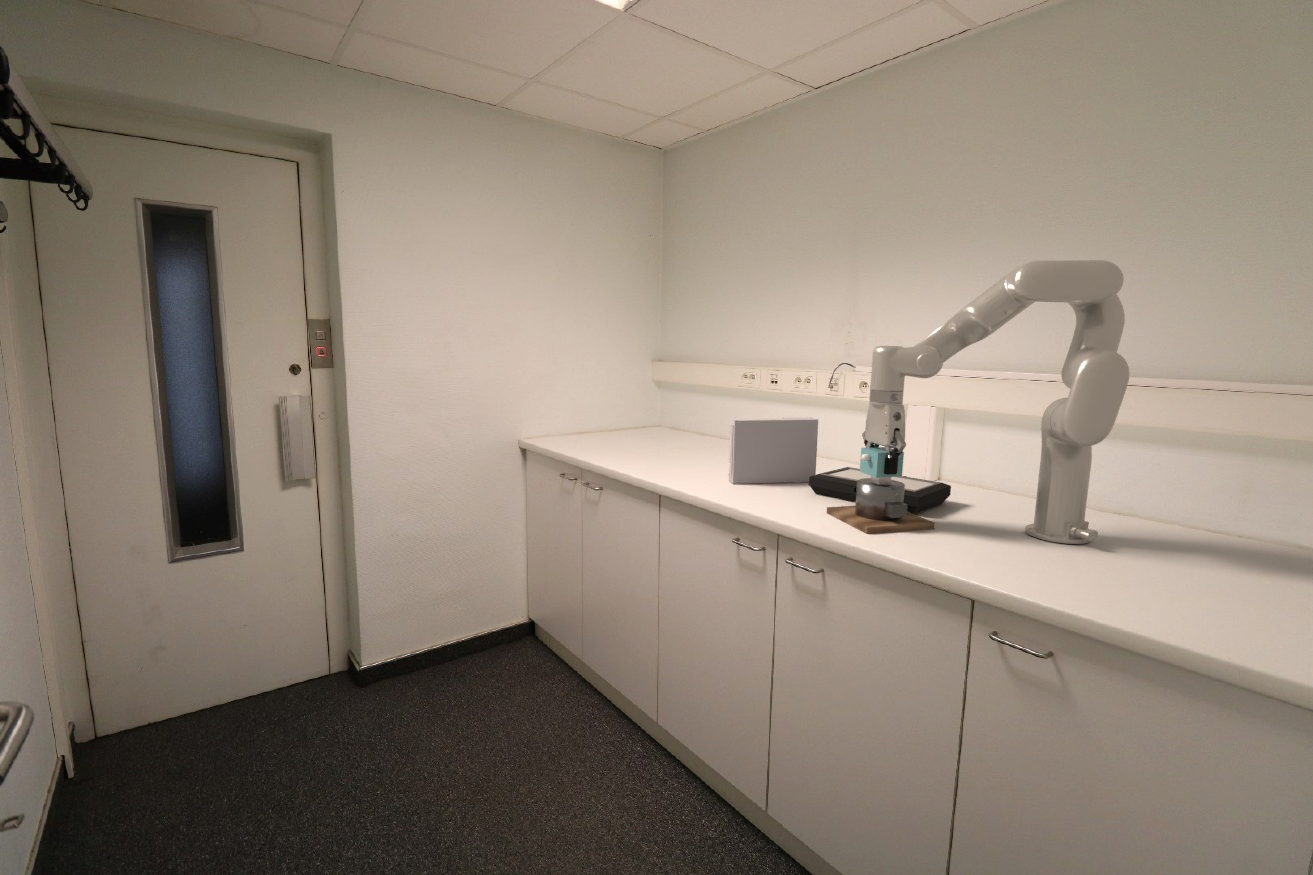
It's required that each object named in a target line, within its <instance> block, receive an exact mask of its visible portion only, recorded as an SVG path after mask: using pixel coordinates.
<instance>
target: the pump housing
mask: <svg viewBox="0 0 1313 875" xmlns="http://www.w3.org/2000/svg"><path fill="white" fill-rule="evenodd" d="M893 449H894V448H891V451H892V450H893ZM904 455H905V451H903V452H902V453H901V454H900V458H898V468H897V474H888V475H886V474H884V467H885V458H888V457H887V454H886V449H885V446H879V447H871V448H866V447H860V461H859V463H860V464H859V469H860V472H862V473H865V474H868V475H870V476H873V477H876V478H879V477H902V476H903V471H904V470H903V469H904V468H903V467H904Z"/></svg>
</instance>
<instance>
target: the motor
mask: <svg viewBox="0 0 1313 875" xmlns="http://www.w3.org/2000/svg"><path fill="white" fill-rule="evenodd" d="M904 490H905V484H904V483H902V482H899V481H895V480H891V477H879V478H876V477H873V476H871V478H864V479H859V480H857V490H856V502H855V505H854V506H855V514H856V515H858V516H860V517H863V518H866V519H871V520H878V521H895V520H900V519H902V517H907V506H908V505H907V504H905V503H904Z"/></svg>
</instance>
